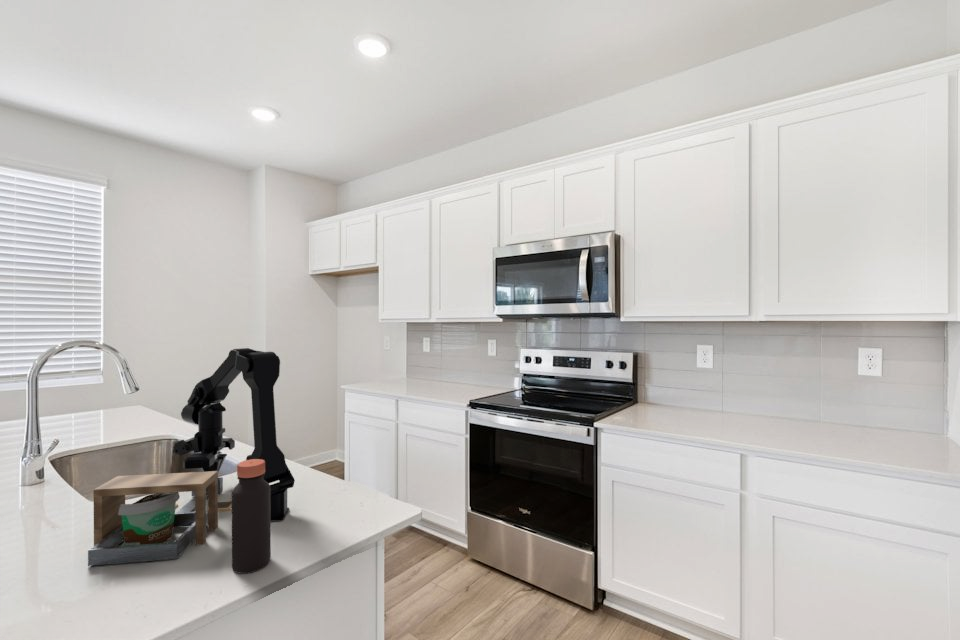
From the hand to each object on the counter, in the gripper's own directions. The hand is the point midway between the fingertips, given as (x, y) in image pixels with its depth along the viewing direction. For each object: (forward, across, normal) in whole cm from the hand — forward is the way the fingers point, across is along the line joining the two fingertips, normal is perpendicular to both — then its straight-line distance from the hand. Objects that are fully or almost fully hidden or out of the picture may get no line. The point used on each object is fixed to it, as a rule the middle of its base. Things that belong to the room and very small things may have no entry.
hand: (211, 483), depth 126 cm
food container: (+2, +28, 0) cm, 28 cm away
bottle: (+2, +41, +23) cm, 47 cm away
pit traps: (+2, +11, 0) cm, 11 cm away
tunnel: (+2, +27, 0) cm, 27 cm away
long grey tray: (+2, +19, 0) cm, 19 cm away
